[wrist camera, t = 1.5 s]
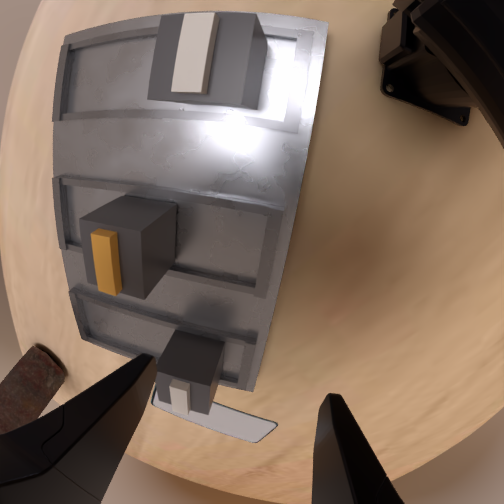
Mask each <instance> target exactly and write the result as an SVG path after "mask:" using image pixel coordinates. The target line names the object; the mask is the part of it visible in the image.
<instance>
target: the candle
mask: <svg viewBox="0 0 504 504" xmlns="http://www.w3.org/2000/svg"><path fill="white" fill-rule="evenodd" d="M64 380H65V376H64V372H63V370H62V369H61V368H60V367H59V366H58V365H57V364H56V363H55V361H53V360H52V359H51V358H50V357H49V356H48V354H46V353H45V352H43V351H42V350H40V349H38V348H37V347H34V346H32V347H31V348H30V349H29V350H28V351H27V353H26V354H25V355H24V356H23V357H22V358H21V359H20V360H19V362H18V363H17V364H16V365H15V366H14V367H13V369H12V370H11V371H10V372H9V374H8V375H7V376H6V377H5V379H4V380H3V381H2V382H1V384H0V434H3V433H6V432H9V431H11V430H14V429H16V428H18V427H20V426H23V425H25V424H27V423H30V422H32V421H34V420H36V419H37V418H38V417H39V416H40V414H41V413H42V411H43V410H44V409H45V407H46V406H47V405H48V403H49V402H50V400H51V399H52V398H53V396H54V395H55V394H56V392H57V391H58V390H59V388H60V387H61V385H62V384H63V383H64Z"/></svg>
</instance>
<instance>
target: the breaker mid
mask: <svg viewBox="0 0 504 504" xmlns="http://www.w3.org/2000/svg"><path fill="white" fill-rule="evenodd" d="M176 211H177V204H175V203H169V202H162V201H156V200H149V199H142V198H136V197H129V196H120V197H118V198H116V199H114V200H112V201H111V202H109V203H107V204H105V205H103V206H101V207H99V208H98V209H96V210H94V211H92V212H90V213H88V214H87V215H85V216H83V217H81V218H80V219H79V226H80V235H81V243H82V251H83V258H84V264H85V271H86V276H87V282H88V283H90V284H93V285H96V286H98V290H99V291H101V292H104V293H107V294H110V295H114V296H117V295H118V294H119V293H122V294H125V295H129V296H132V297H136V298H139V299H142V300H145V299H146V298H147V296H148V295H149V294H150V293H151V291H152V290H153V289H154V287H155V286H156V285H157V284H158V282H159V281H160V280H161V279H162V277H163V276H164V275H165V274H166V272H167V271H168V270H169V269H170V267H171V266H172V265H173V264H174V262H175V237H176Z"/></svg>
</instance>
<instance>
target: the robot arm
mask: <svg viewBox="0 0 504 504" xmlns="http://www.w3.org/2000/svg"><path fill="white" fill-rule="evenodd" d="M392 5H393V6H395V7H396V8H397V9H396V8H393V9H391V10H390V11H389V13H388V22H387V23H386V24H385V25H384V26H383V27H382V36H381V45H380V54H379V60H380V62H381V64H383V72H382V79H381V86H380V88H381V91H382V93H383V94H384V95H386V96H388V97H391V98H394V99H397V100H399V101H402V102H405V103H408V104H410V105H413V106H416V107H418V108H421V109H423V110H426V111H428V112H431V113H433V114H435V115H438V116H440V117H442V118H444V119H447V120H449V121H451V122H453V123H455V124H457V125H460V126H466V125H467V124H468V121H469V114H470V107H478V109H479V110H480V111H481V113H482V114H483V116H484V117H485V119H486V120H487V122H488V123H489V125H490V127H491V128H492V130H493V131H494V133H495V135H496V136H497V138H498V140H499V141H500V143H501V145H502V147H503V148H504V0H395V1H394V3H393V4H392ZM394 13H395V15H394ZM387 85H389V86H391V88H392V91H391V92H388V91H387V89H386V86H387ZM460 116H462V118H463V121H461V120H460ZM156 376H157V366H156V359H155V357H154V356H153V355H150V354H147V353H141V354H140V355H138V356H137V357H135V358H134V359H132V360H131V361H129V362H128V363H126V364H125V365H123V366H122V367H120V368H119V369H117V370H116V371H114V372H112V373H111V374H109V375H108V376H106V377H105V378H103V379H102V380H100V381H99V382H97V383H95V384H94V385H92V386H91V387H89V388H88V389H86V390H85V391H83V392H81V393H80V394H78V395H77V396H75V397H74V398H72V399H70V400H69V401H67V402H66V403H65V404H62V405H61V406H59V407H58V408H56V409H54V410H53V411H51V412H49V413H48V414H46V415H44V416H42V417H40V418H38V419H36V420H34V421H32V422H30V423H27V424H25V425H23V426H20V427H18V428H16V429H14V430H11V431H9V432H6V433H3V434H0V504H101V501H102V499H103V497H104V494H105V493H106V491H107V488H108V486H109V484H110V482H111V480H112V478H113V475H114V473H115V471H116V469H117V467H118V464H119V463H120V461H121V459H122V456H123V455H124V452H125V450H126V448H127V446H128V444H129V442H130V440H131V438H132V436H133V434H134V432H135V430H136V428H137V426H138V424H139V422H140V420H141V418H142V415H143V413H144V410H145V408H146V405H147V402H148V399H149V396H150V393H151V390H152V388H153V385H154V382H155V379H156ZM386 476H387V474H386V473H385V471H384V469H383V467H382V466H381V464H380V462H379V460H378V459H377V457H376V455H375V453H374V452H373V450H372V448H371V446H370V445H369V443H368V441H367V439H366V438H365V436H364V434H363V432H362V430H361V429H360V427H359V425H358V423H357V422H356V420H355V418H354V417H353V415H352V413H351V411H350V410H349V408H348V406H347V404H346V403H345V401H344V399H343V397H342V396H341V395H340V394H335V393H329V394H327V396H326V398H325V399H324V401H323V403H322V404H321V406H320V408H319V413H318V421H317V429H316V436H315V443H314V452H313V482H312V504H404V502H403V500H402V499H401V498H400V496H399V495H398V493H397V491H396V490H395V488H394V487H393V485H392V483H391V481H390V480H389V478H388V477H386Z"/></svg>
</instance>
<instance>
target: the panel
mask: <svg viewBox="0 0 504 504" xmlns="http://www.w3.org/2000/svg"><path fill="white" fill-rule="evenodd" d="M200 12H240V13H256V14H257V16H258V19H259V21H260V24H261V26H262V29H263V31H264V34H265V37H266V39H267V42H268V45H267V51H266V57H265V63H264V69H263V75H262V82H261V88H260V94H259V101H258V107H257V110H251V109H243V108H234V107H224V106H213V105H199V104H183V103H175V102H166V101H156V100H147V96H148V88H149V80H150V73H151V67H152V61H153V55H154V49H155V44H156V39H157V34H158V29H159V24H160V19H161V15H154V16H147V17H140V18H134V19H129V20H123V21H118V22H114V23H109V24H105V25H101V26H97V27H93V28H89V29H86V30H82V31H79V32H76V33H72V34H69V35H66V36H65V39H64V43H63V45H62V46H61V51H60V56H59V62H58V68H57V75H56V83H55V92H54V102H53V116H52V122H54V126H53V175H54V178H52V184H53V199H54V209H55V219H56V227H57V234H58V241H59V247H60V249H61V251H62V257H63V262H64V267H65V272H66V277H67V282H68V286H69V296H70V300H71V304H72V308H73V311H74V315H75V319H76V322H77V325H78V329H79V332H80V335H81V338H82V339H83V340H85V341H88V342H90V343H92V344H95V345H97V346H100V347H102V348H105V349H107V350H110V351H112V352H115V353H117V354H120V355H123V356H125V357H128V358H131V359H134V358H135V357H137V356H138V355H140V354H141V353H147V354H150V355H153V356H154V357H155V359H156V364H157V362H158V360H159V358H160V357H161V355H162V353H163V351H164V349H165V347H166V345H167V344H168V342H169V340H170V338H171V336H172V334H173V333H174V331H175V329H176V330H180V331H184V332H188V333H191V334H195V335H199V336H203V337H207V338H212V339H216V340H220V341H224V342H225V349H224V357H223V366H222V374H221V377H220V380H219V383H218V385H223V386H227V387H231V388H236V389H241V390H245V391H251V392H253V391H254V387H255V383H256V380H257V376H258V372H259V368H260V364H261V361H262V357H263V353H264V349H265V345H266V341H267V337H268V333H269V329H270V325H271V321H272V317H273V313H274V308H275V304H276V300H277V296H278V291H279V287H280V283H281V279H282V274H283V270H284V265H285V261H286V256H287V252H288V247H289V243H290V238H291V233H292V229H293V224H294V219H295V214H296V210H297V205H298V200H299V195H300V190H301V185H302V180H303V175H304V169H305V164H306V159H307V154H308V148H309V143H310V137H311V132H312V126H313V120H314V115H315V109H316V103H317V97H318V91H319V85H320V78H321V72H322V65H323V59H324V52H325V45H326V38H327V30H328V23H329V22H324V21H319V20H314V19H308V18H302V17H295V16H288V15H280V14H271V13H259V12H241V11H200ZM200 12H183V13H200ZM171 14H182V13H171ZM171 14H162V15H171ZM120 196H129V197H136V198H142V199H149V200H156V201H162V202H169V203H175V204H177V211H176V237H175V262H174V264H173V265H172V266H171V267H170V269H169V270H168V271H167V272H166V274H165V275H164V276H163V277H162V279H161V280H160V281H159V282H158V284H157V285H156V286H155V287H154V289H153V290H152V291H151V293H150V294H149V295H148V296H147V298H146V299H145V300H142V299H139V298H136V297H132V296H129V295H125V294H122V293H119V294H118V295H117V296H114V295H110V294H107V293H104V292H101V291H99V290H98V286H96V285H93V284H90V283H88V282H87V276H86V271H85V264H84V258H83V251H82V243H81V235H80V226H79V219H80V218H81V217H83V216H85V215H87V214H88V213H90V212H92V211H94V210H96V209H98V208H99V207H101V206H103V205H105V204H107V203H109V202H111V201H112V200H114V199H116V198H118V197H120Z"/></svg>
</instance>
